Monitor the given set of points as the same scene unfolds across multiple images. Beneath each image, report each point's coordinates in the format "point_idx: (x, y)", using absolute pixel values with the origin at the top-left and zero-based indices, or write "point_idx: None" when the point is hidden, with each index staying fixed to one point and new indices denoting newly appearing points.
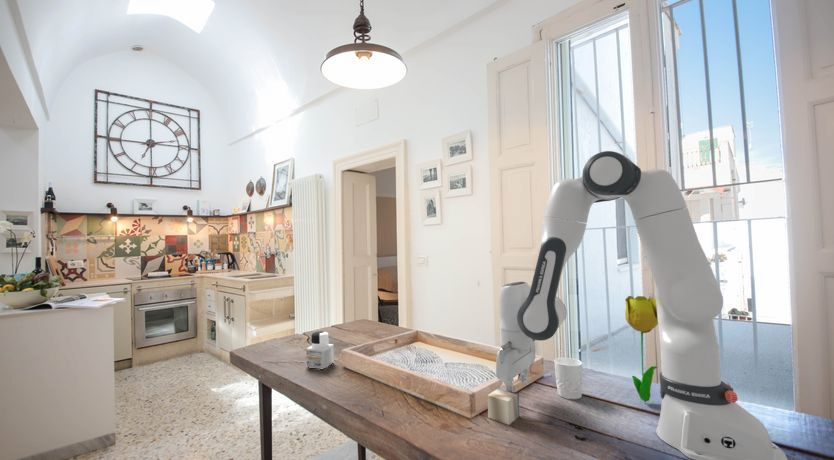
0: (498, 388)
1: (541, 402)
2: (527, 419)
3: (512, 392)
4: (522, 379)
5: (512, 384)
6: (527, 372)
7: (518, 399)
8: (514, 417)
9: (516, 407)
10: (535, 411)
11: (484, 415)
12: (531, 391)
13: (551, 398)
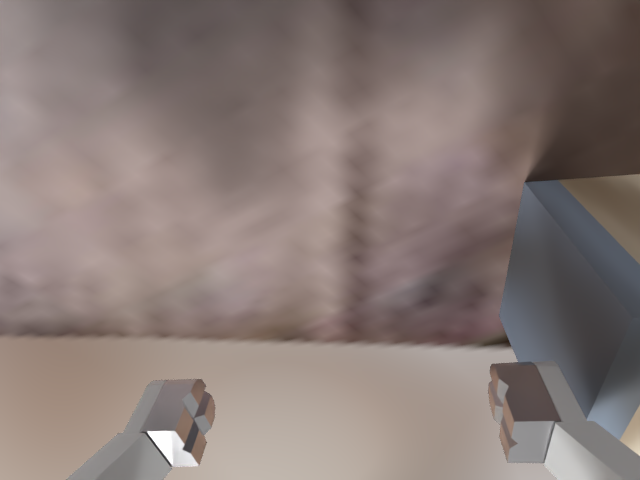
0: None
1: (170, 174)
2: (553, 103)
3: (628, 369)
4: (195, 418)
5: (608, 460)
6: (98, 468)
7: (605, 268)
8: (634, 185)
9: (624, 226)
10: (356, 129)
11: None
12: (91, 299)
13: (36, 151)
